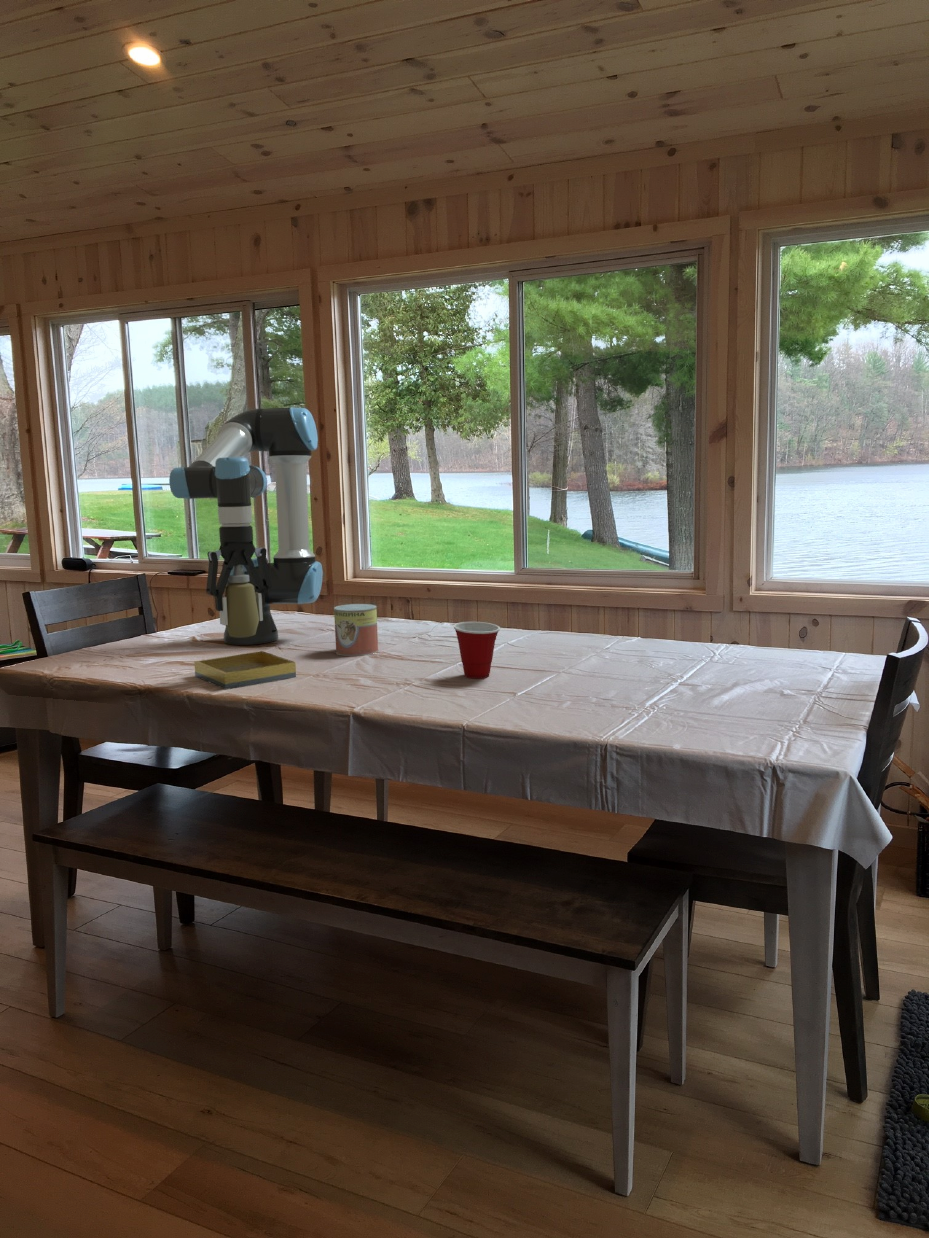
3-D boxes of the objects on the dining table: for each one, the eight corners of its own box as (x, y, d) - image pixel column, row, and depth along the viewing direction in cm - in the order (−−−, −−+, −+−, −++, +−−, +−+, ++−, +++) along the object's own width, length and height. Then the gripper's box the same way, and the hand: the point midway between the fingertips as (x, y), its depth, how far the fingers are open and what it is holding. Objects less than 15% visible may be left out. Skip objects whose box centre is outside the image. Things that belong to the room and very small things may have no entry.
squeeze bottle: (251, 639, 214) (246, 561, 211) (218, 638, 215) (213, 561, 212) (265, 633, 221) (261, 557, 219) (234, 632, 223) (229, 557, 220)
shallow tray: (263, 665, 232) (262, 651, 232) (296, 677, 219) (295, 662, 218) (195, 676, 222) (194, 661, 221) (225, 689, 208) (224, 673, 207)
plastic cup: (485, 683, 208) (484, 630, 206) (445, 678, 214) (444, 626, 212) (509, 673, 217) (509, 623, 215) (470, 668, 223) (469, 619, 221)
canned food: (327, 654, 244) (325, 609, 242) (348, 646, 254) (346, 603, 252) (366, 657, 239) (364, 611, 237) (385, 648, 250) (384, 604, 248)
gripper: (269, 522, 223) (275, 615, 227) (185, 527, 211) (192, 625, 215) (284, 523, 217) (289, 618, 221) (198, 528, 205) (205, 629, 209)
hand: (241, 622), depth 218 cm, fingers closed on squeeze bottle, 8 cm apart
